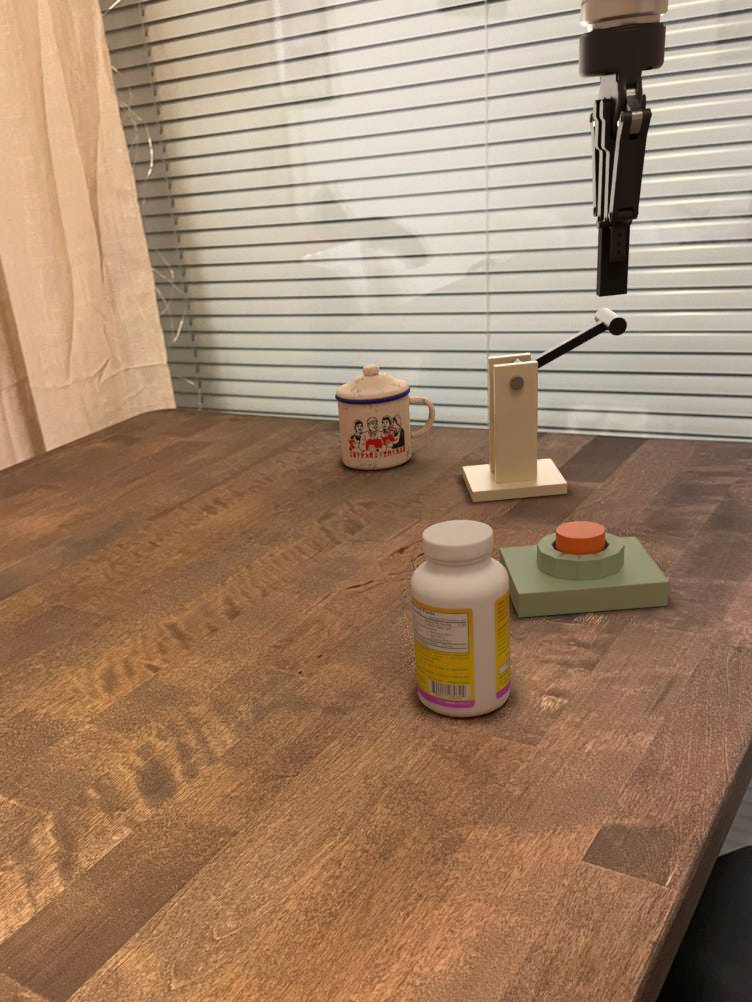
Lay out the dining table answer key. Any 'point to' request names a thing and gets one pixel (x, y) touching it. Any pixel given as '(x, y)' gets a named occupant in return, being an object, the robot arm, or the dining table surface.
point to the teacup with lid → (377, 420)
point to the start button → (580, 538)
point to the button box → (583, 578)
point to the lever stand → (513, 437)
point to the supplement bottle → (461, 621)
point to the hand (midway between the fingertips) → (611, 294)
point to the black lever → (584, 336)
